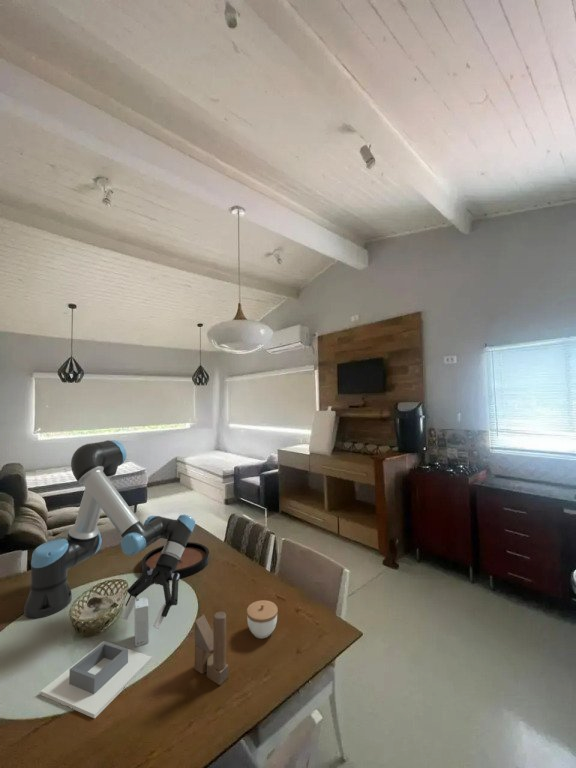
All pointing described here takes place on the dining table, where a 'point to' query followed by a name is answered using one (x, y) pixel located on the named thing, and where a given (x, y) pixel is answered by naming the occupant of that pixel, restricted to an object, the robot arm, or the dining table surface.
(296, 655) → the dining table surface
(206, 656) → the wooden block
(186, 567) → the wall clock
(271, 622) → the lidded jar
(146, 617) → the skincare box
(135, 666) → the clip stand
